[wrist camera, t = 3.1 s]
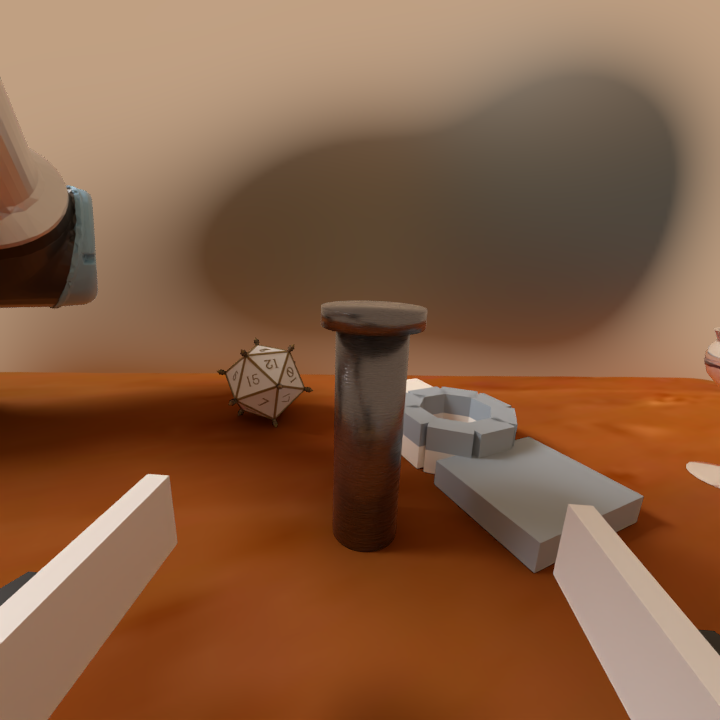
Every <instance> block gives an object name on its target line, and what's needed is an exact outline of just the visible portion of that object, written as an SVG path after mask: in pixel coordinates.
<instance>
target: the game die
mask: <svg viewBox="0 0 720 720" xmlns="http://www.w3.org/2000/svg"><path fill="white" fill-rule="evenodd" d="M254 343H255V347H253V348H252V349H251V350H250V351H249V352H248V353H247V352H246V351H245V350H241V353H240V354H242V356H243V357H242V358H241V359H240V360H239V361H237V362H236V363H235V364H234V365H233V366H232V367H231V368H229V369H228V370H227V371H224V370H219V371H217V372H218V373H219V374H222V375H224V374H225V375H226V378H227V381H228V383H229V386H230V389H231V391H232V394H233V397H234V399H232V400H230V402H229V405H232V406H233V405H234V404H235V403H237V404H238V405H239V406H240V408H241V410H239V411H238V416H239V415H243V413H244V411H246V412H250V413H253V414H256V415H259V416H263V417H266V418H269V419H272V420H273V421H272V423H273V424H272V425H274V426H275V427H277V424H278V423H277V421H276V418H277V417H278V416H279V415H280V414H281V413H282V412H283V411H284V410H285V409H286V408H287V407H288V406H289V405H290V404H291V403H292V402H293V401H294V400H295V399H296V398H297V397H298V396H299V395H300V394H301V393H302V392H303V391H306V392H311V391H313V390H312V389H311V388H309V387H304V384H303V382H302V379H301V377H300V374H299V372H298V370H297V367H296V365H295V361H294V360H293V357H292V355H291V353H290V352H291V351H293V349H294V345H291V346H290V347H289V348H288V350H283V349H278V348H273V347H267V346H262V345H259V340H258V339H257V338H255V340H254Z"/></svg>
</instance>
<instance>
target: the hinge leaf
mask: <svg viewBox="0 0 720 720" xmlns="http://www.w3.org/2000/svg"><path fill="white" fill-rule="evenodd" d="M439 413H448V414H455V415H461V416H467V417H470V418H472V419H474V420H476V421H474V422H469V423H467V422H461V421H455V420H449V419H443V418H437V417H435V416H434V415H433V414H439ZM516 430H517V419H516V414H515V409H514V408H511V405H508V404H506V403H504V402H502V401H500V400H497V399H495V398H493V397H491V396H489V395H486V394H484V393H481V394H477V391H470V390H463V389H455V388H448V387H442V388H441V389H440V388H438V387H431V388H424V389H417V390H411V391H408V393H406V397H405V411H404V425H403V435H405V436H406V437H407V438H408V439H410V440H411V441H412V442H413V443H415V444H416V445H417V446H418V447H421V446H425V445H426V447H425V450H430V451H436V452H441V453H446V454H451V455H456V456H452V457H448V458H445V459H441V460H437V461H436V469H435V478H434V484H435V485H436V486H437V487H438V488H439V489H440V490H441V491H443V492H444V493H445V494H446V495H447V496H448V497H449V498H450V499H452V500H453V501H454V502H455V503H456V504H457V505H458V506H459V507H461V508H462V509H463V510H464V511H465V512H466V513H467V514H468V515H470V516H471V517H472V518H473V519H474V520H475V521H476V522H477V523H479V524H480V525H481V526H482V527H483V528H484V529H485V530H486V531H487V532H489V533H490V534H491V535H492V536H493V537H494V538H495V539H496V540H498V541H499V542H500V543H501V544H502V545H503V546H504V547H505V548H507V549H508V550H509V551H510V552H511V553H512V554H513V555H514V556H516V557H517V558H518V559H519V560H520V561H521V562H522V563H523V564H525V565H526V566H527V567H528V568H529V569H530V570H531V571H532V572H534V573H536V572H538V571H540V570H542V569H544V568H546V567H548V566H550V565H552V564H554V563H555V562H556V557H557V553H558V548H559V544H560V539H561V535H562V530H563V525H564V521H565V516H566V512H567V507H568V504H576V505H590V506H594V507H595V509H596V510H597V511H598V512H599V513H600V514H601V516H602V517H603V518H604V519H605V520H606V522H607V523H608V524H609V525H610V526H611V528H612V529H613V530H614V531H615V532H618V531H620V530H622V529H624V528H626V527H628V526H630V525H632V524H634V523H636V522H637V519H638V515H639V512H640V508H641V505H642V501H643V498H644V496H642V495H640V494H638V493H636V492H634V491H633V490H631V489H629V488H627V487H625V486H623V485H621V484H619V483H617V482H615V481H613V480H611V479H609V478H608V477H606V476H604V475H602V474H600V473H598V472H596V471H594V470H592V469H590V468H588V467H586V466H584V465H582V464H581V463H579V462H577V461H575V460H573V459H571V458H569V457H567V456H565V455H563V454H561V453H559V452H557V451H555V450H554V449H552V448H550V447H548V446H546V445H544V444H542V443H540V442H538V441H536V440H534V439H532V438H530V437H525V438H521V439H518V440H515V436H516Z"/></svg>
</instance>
